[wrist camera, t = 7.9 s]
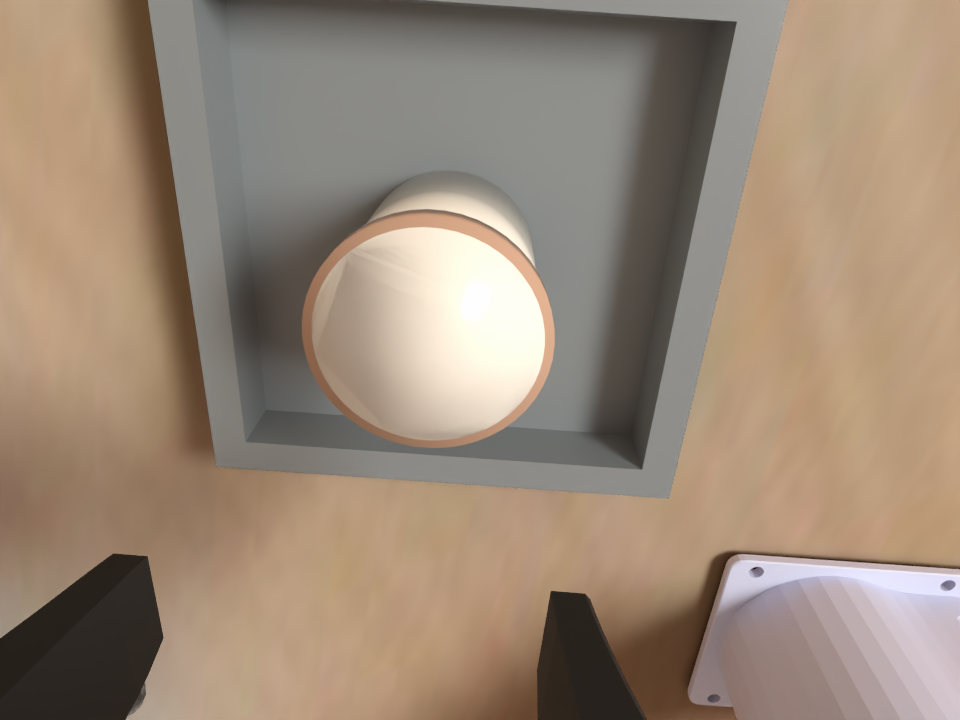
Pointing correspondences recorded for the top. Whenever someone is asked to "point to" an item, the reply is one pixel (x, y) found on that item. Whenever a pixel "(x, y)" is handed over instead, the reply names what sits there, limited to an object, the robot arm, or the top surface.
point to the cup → (432, 315)
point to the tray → (482, 152)
